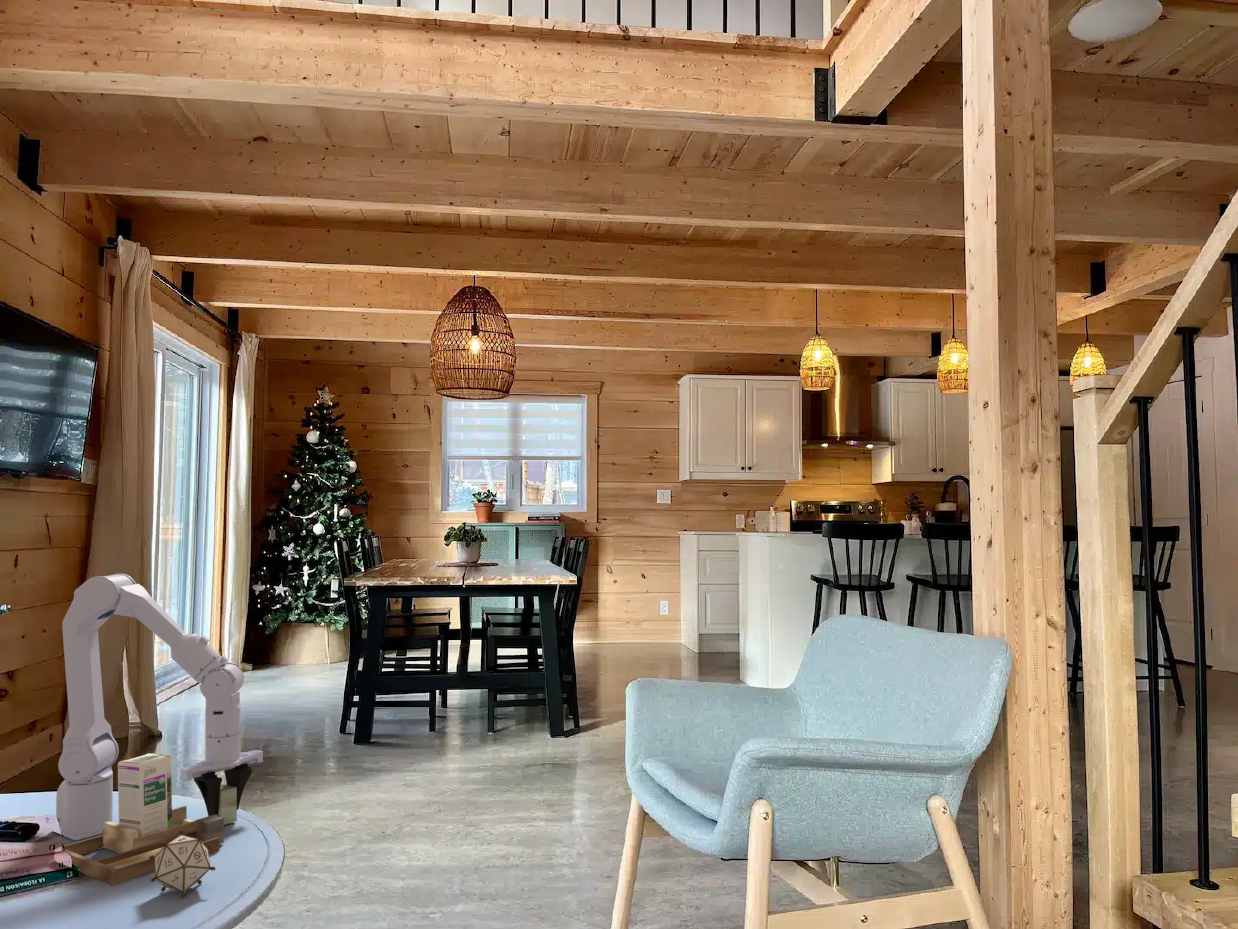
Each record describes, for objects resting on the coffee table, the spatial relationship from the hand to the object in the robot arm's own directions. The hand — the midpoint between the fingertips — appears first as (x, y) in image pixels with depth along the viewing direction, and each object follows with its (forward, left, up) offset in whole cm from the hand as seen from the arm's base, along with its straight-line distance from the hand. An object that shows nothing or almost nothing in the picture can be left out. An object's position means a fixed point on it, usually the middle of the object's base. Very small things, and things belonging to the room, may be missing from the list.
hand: (223, 812), depth 166 cm
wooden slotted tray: (0, -8, -2) cm, 9 cm away
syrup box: (+1, -14, -2) cm, 14 cm away
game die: (+23, -21, -2) cm, 31 cm away
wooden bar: (+9, -15, -2) cm, 17 cm away
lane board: (+3, -16, -2) cm, 17 cm away
